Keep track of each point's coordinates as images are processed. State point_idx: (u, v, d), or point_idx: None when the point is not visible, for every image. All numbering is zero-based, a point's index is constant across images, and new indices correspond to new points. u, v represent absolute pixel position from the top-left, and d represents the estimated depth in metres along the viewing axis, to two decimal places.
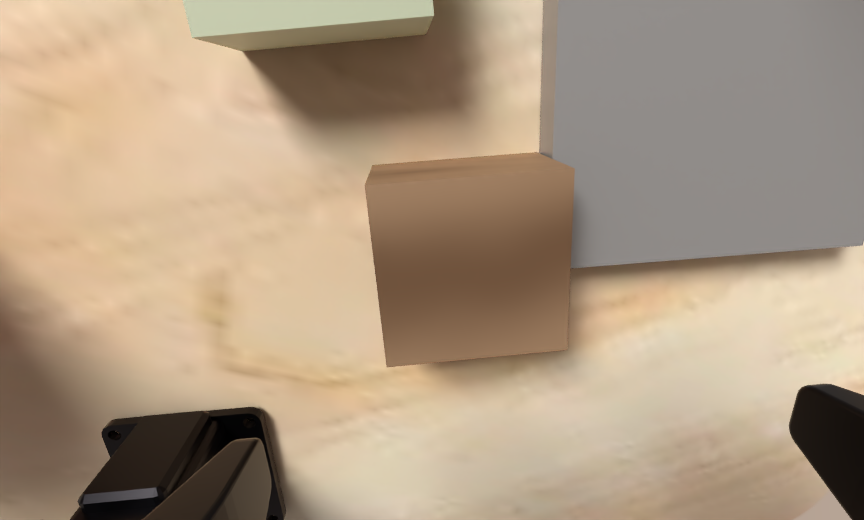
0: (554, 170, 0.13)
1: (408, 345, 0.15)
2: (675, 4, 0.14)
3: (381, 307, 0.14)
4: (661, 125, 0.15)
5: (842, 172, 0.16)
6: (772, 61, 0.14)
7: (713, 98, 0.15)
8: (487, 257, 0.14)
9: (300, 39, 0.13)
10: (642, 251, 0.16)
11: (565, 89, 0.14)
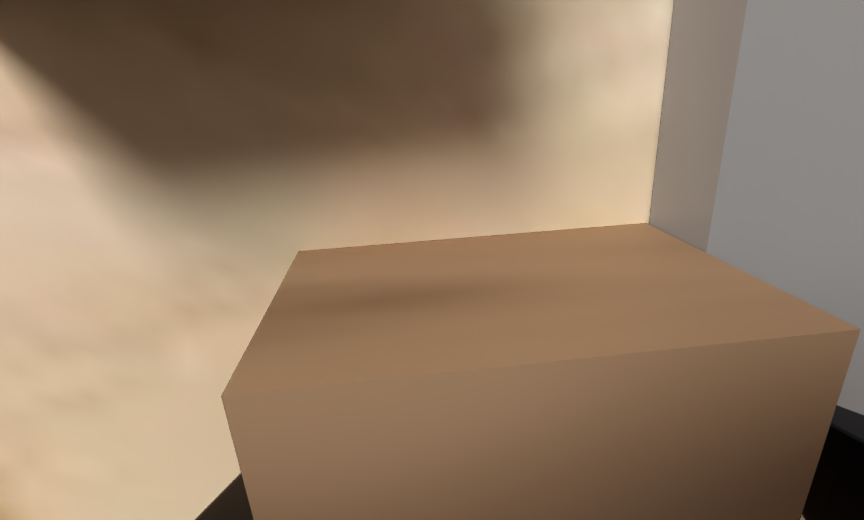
0: (801, 334, 0.04)
1: None
2: None
3: None
4: None
5: None
6: None
7: None
8: None
9: None
10: None
11: (758, 88, 0.06)
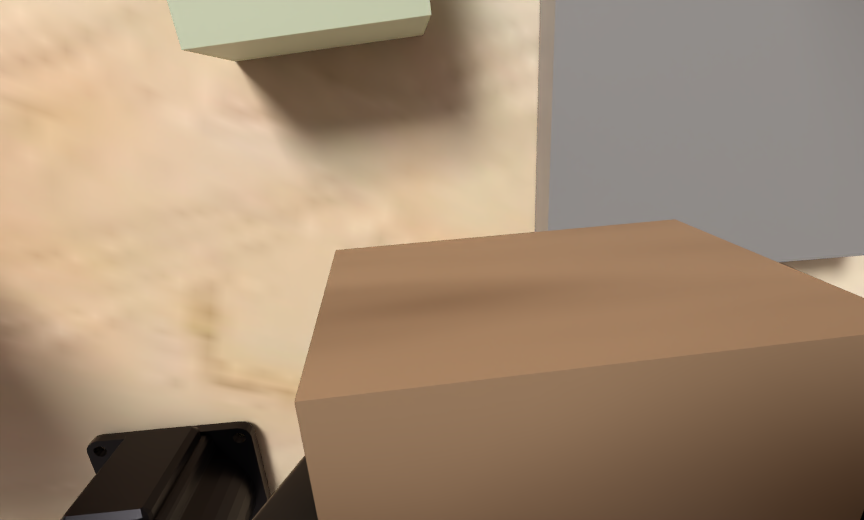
0: None
1: None
2: (675, 9, 0.13)
3: None
4: (661, 133, 0.14)
5: (846, 180, 0.16)
6: (775, 67, 0.14)
7: (714, 105, 0.14)
8: None
9: (294, 46, 0.13)
10: None
11: (563, 96, 0.14)
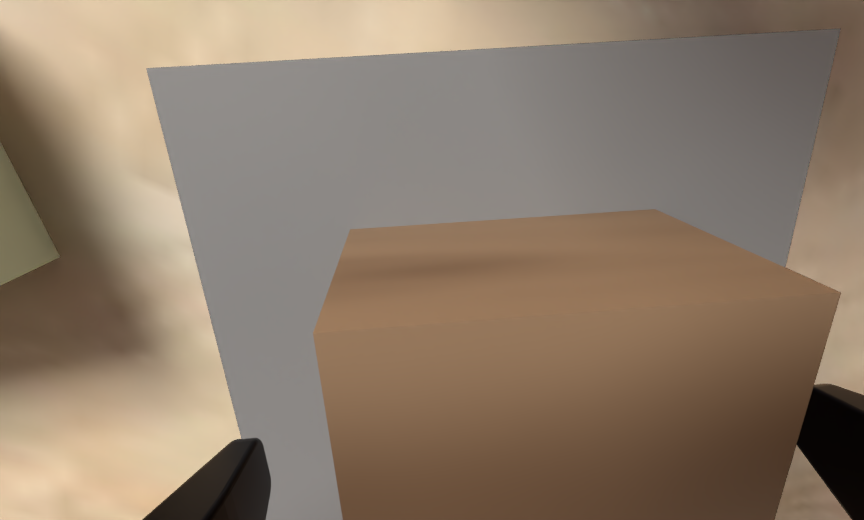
0: (789, 296, 0.05)
1: None
2: None
3: None
4: None
5: None
6: None
7: None
8: (602, 479, 0.06)
9: None
10: None
11: (239, 368, 0.09)
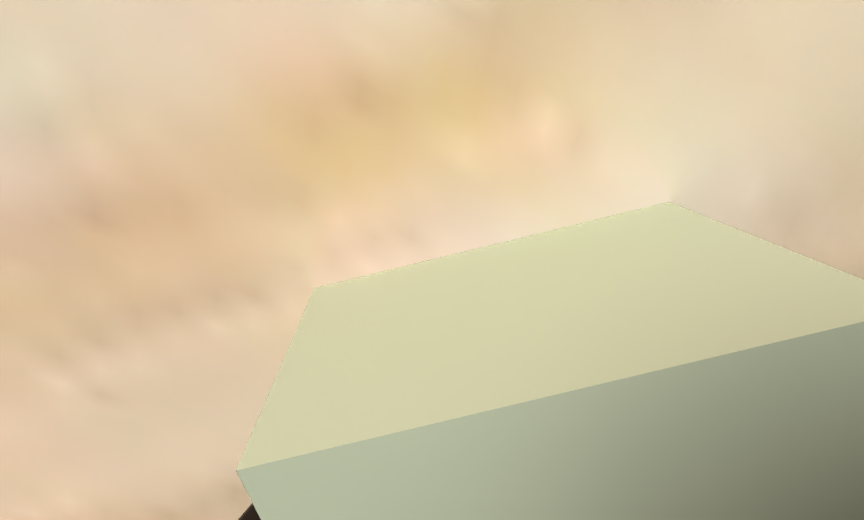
0: None
1: None
2: None
3: None
4: None
5: None
6: None
7: None
8: None
9: None
10: None
11: None
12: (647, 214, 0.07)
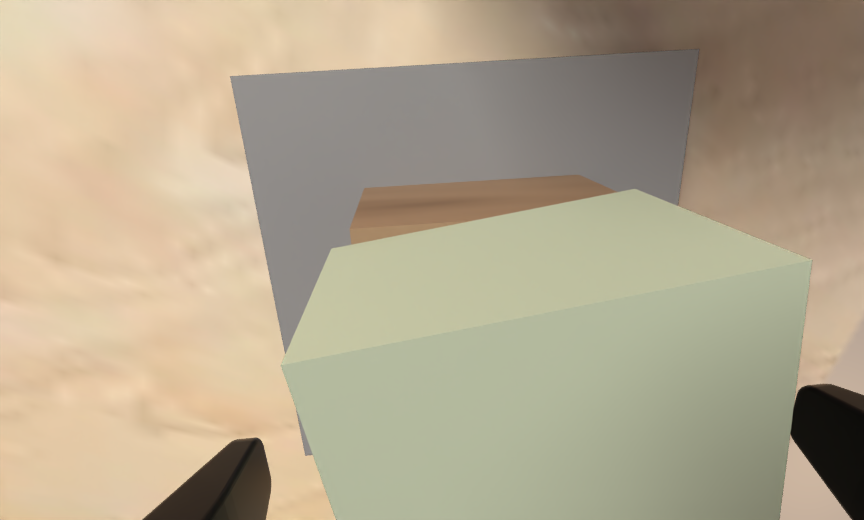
0: None
1: None
2: None
3: None
4: None
5: None
6: None
7: None
8: None
9: None
10: None
11: (284, 290, 0.13)
12: (618, 199, 0.08)
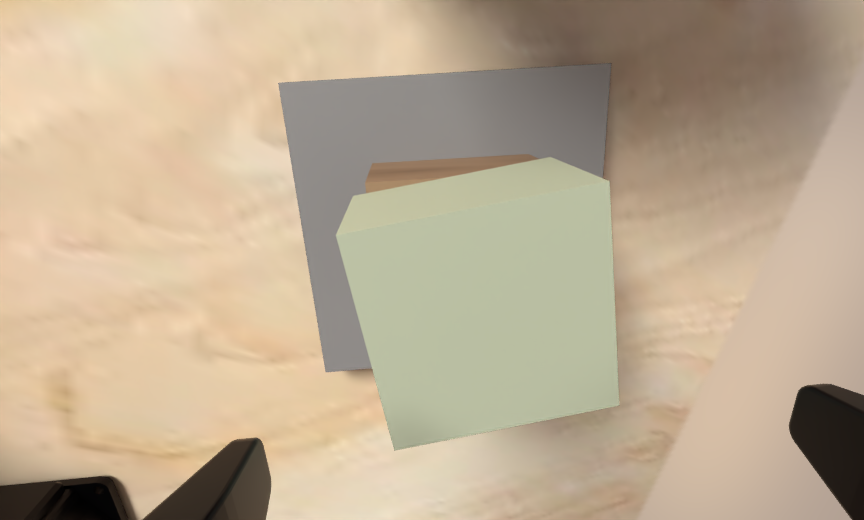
0: None
1: None
2: None
3: None
4: None
5: None
6: None
7: None
8: None
9: None
10: None
11: (312, 240, 0.18)
12: (537, 162, 0.13)
